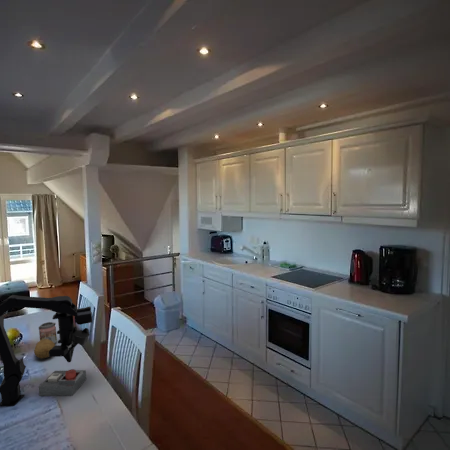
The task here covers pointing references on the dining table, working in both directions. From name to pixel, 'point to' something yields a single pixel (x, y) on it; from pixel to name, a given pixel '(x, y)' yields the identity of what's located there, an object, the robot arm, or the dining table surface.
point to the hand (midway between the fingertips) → (69, 361)
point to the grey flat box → (62, 385)
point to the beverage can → (48, 331)
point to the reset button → (70, 374)
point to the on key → (54, 377)
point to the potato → (43, 348)
